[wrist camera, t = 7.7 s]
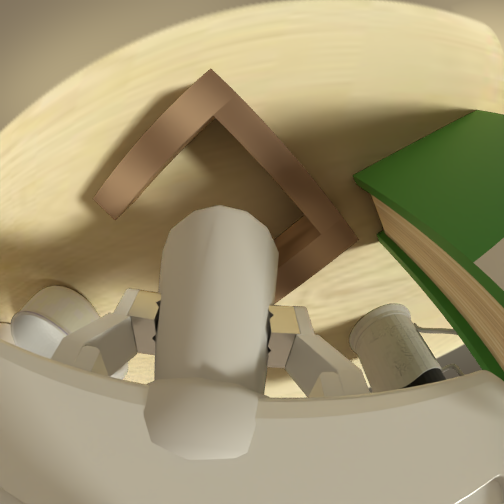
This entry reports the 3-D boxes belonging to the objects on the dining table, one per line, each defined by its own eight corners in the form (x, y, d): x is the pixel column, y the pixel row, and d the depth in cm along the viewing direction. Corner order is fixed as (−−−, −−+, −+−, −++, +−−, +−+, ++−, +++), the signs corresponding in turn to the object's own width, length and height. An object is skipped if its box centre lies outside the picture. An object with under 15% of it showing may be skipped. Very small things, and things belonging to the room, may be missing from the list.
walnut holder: (240, 295, 27) (241, 326, 23) (115, 183, 21) (92, 198, 17) (339, 218, 24) (358, 239, 20) (216, 78, 18) (210, 68, 14)
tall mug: (340, 327, 30) (383, 441, 17) (440, 268, 27) (515, 354, 14) (358, 363, 34) (393, 456, 21) (444, 313, 31) (498, 391, 18)
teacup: (39, 317, 28) (13, 358, 21) (43, 255, 24) (4, 297, 17) (127, 363, 32) (112, 412, 25) (150, 312, 28) (130, 369, 21)
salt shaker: (167, 273, 17) (98, 484, 5) (181, 183, 14) (31, 405, 3) (259, 292, 18) (278, 510, 6) (287, 208, 15) (384, 452, 3)
